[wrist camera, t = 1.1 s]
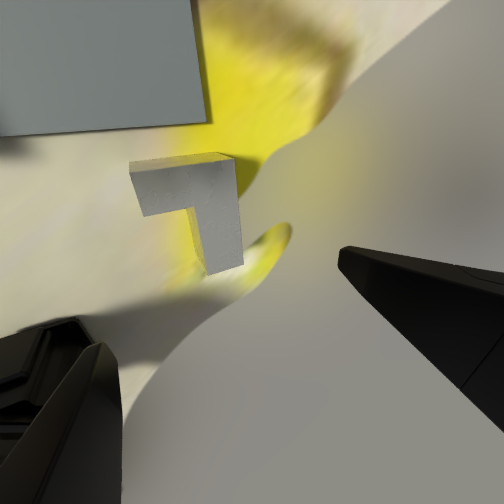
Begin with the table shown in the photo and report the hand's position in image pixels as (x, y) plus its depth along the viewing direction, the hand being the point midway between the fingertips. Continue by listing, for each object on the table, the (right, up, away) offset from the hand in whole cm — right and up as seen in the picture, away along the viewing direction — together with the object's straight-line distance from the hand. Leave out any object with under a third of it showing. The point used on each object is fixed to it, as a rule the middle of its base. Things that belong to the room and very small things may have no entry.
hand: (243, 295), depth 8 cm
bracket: (-5, +5, +10) cm, 12 cm away
